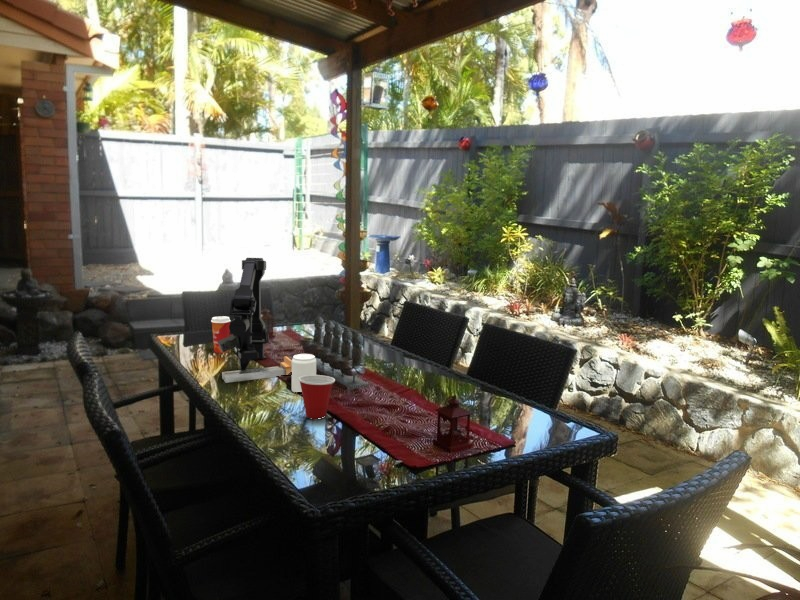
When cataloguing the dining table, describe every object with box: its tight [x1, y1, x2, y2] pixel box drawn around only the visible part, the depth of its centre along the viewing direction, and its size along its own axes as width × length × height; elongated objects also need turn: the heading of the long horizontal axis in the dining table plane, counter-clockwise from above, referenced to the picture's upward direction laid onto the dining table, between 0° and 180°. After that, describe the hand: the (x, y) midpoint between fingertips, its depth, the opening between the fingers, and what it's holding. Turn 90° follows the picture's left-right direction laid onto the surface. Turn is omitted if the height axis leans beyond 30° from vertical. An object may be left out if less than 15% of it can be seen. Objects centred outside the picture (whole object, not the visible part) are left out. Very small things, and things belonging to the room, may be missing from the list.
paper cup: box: [210, 315, 232, 354], centre depth 264 cm, size 8×8×14 cm
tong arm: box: [221, 365, 280, 381], centre depth 232 cm, size 20×2×2 cm, turn 117°
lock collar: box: [279, 356, 292, 375], centre depth 236 cm, size 7×2×5 cm, turn 29°
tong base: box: [223, 366, 286, 384], centre depth 232 cm, size 5×24×2 cm, turn 119°
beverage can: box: [291, 353, 317, 393], centre depth 217 cm, size 8×8×12 cm
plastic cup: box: [299, 374, 336, 420], centre depth 194 cm, size 11×11×12 cm
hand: (242, 371), depth 232 cm, fingers closed
